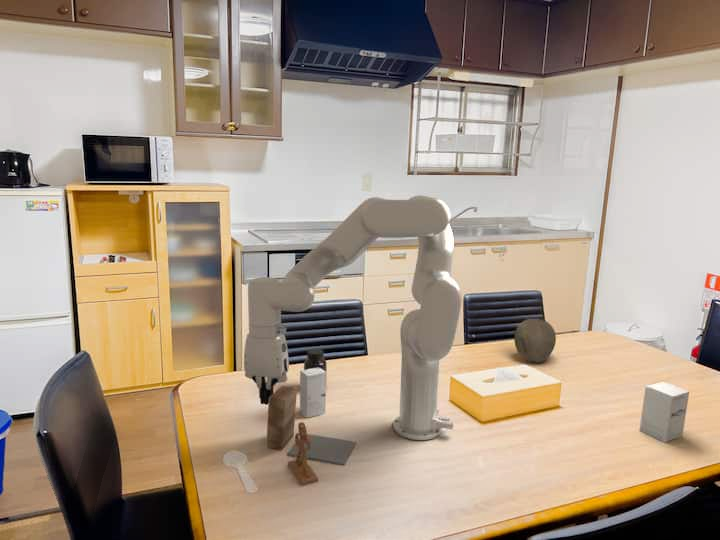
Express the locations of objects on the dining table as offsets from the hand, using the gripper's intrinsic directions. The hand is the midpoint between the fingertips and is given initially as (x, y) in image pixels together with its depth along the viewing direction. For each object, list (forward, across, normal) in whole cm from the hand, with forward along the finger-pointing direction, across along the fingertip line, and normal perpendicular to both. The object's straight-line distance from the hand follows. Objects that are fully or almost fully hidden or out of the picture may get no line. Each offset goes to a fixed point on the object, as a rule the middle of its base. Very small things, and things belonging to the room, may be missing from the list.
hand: (266, 401), depth 127 cm
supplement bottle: (+10, 0, -32) cm, 34 cm away
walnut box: (+10, -4, 0) cm, 11 cm away
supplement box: (+10, -95, -34) cm, 102 cm away
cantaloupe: (+10, -65, -79) cm, 103 cm away
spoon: (+10, -1, +14) cm, 17 cm away
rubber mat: (+10, -14, 0) cm, 18 cm away
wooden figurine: (+10, -14, +11) cm, 20 cm away
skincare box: (+10, -6, -17) cm, 21 cm away
